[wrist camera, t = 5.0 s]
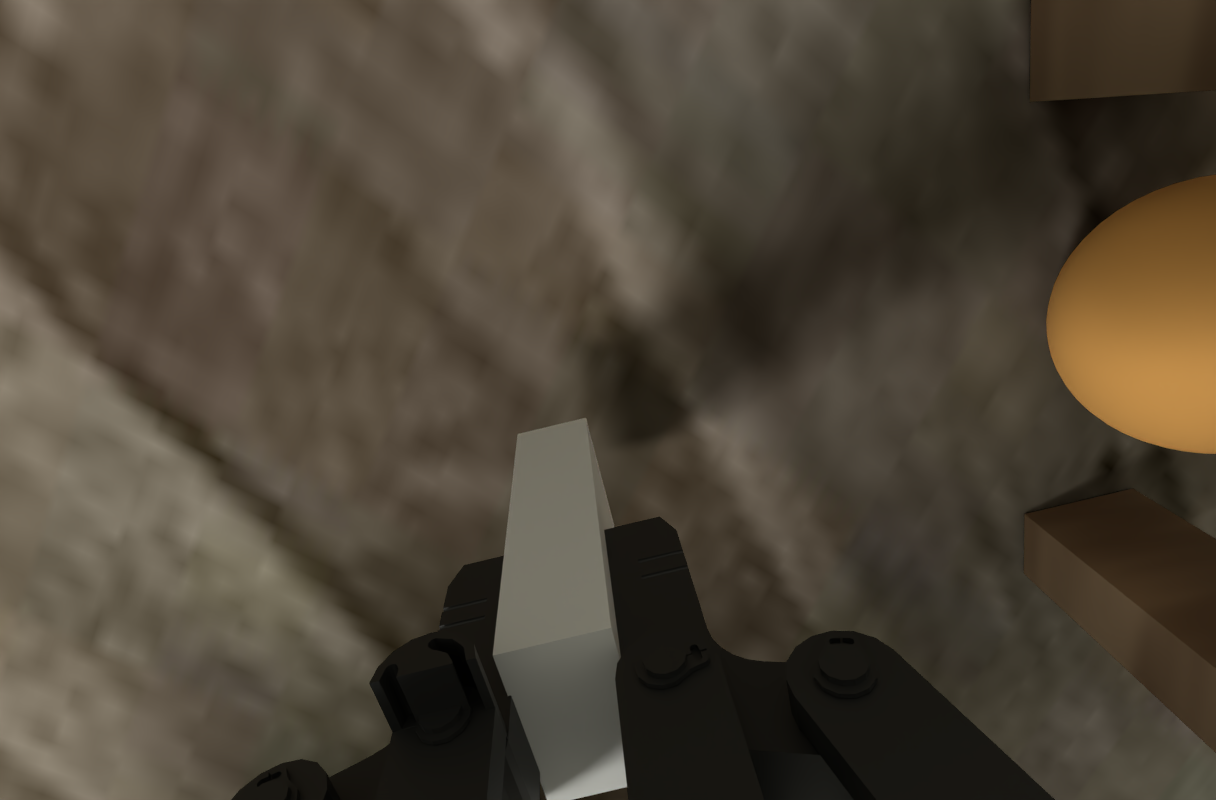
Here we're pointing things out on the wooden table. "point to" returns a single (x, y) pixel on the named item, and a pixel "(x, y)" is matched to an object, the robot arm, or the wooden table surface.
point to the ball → (1144, 318)
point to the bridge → (1127, 520)
